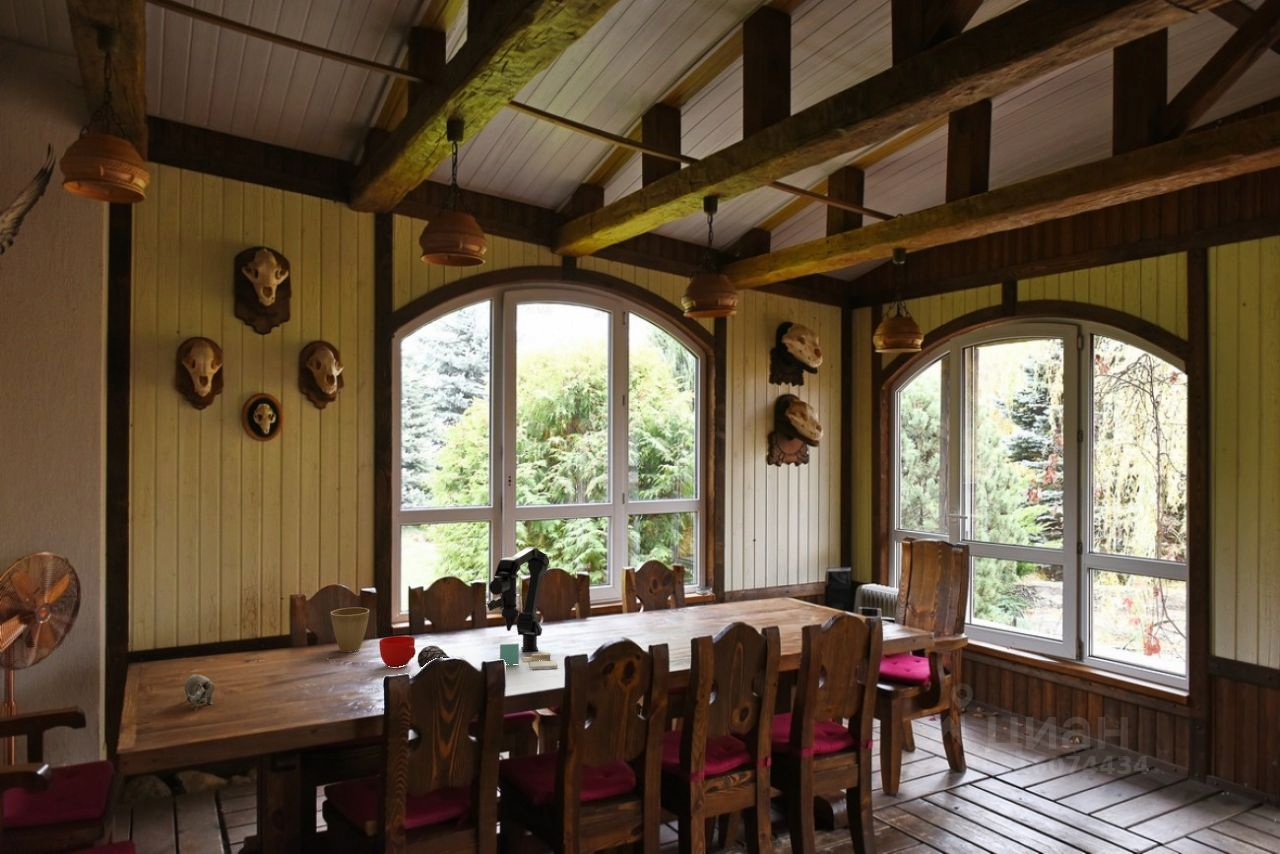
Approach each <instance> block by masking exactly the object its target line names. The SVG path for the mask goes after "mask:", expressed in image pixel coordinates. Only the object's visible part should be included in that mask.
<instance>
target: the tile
mask: <svg viewBox="0 0 1280 854" xmlns="http://www.w3.org/2000/svg"><path fill="white" fill-rule="evenodd" d="M519 648H520V644H519V643H518V642H517V643H516V642H515V643H500V644H499V660H500V659H504V660H505V662H506V664H507V665H508V664H509V665H513V664H520V662H519V659H520V658H519V657H520V655H519V654H520V653H519V652H520V649H519ZM513 666H514V665H513Z"/></svg>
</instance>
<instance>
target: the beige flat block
mask: <svg viewBox="0 0 1280 854" xmlns="http://www.w3.org/2000/svg"><path fill="white" fill-rule="evenodd" d="M522 659H523V660H522V663H523V662H537V661H539V660H540V661H541V660H550V661H551V654H550V652H543V653H541V652H540V653H531V656H529V657H527V656H526V657H522Z"/></svg>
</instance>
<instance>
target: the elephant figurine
mask: <svg viewBox="0 0 1280 854" xmlns="http://www.w3.org/2000/svg"><path fill="white" fill-rule="evenodd" d="M183 687H184V691H185V695H186V699H185V702H186V701H190V702H191V701H192V703H193V709H198V708H197V707H198V705H199V704H200V702H201V703H206V704H207V705H209V704H211V705H213V702H212V697H213V693H214V692H215V689H216V686H215V684H214V683H213V682H212V681H211V679H209V678H208V677H206V676H204V675H201V674H191V675H190V676H189V677H187V679H186V680H185V682H184V686H183ZM205 701H207V702H205Z"/></svg>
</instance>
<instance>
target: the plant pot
mask: <svg viewBox="0 0 1280 854" xmlns="http://www.w3.org/2000/svg"><path fill="white" fill-rule="evenodd" d="M369 615H370V609H369V608H365V607H345V608H339V609H336V610H335V609H334V610H332V611H330V618H331V624H332V628H333V629H332V630H333V633H334V637H335V640H336V643H337V647H338V649H339V651H340V652H341V651H342V652H341V653H345V652H349V653H351V652H350V651H355V650H358V649H359V650H361V646H362V645H363V641H364V638H365V634H366V630H367V627H368V622H369V617H370V616H369ZM359 650H358V651H359Z"/></svg>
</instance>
